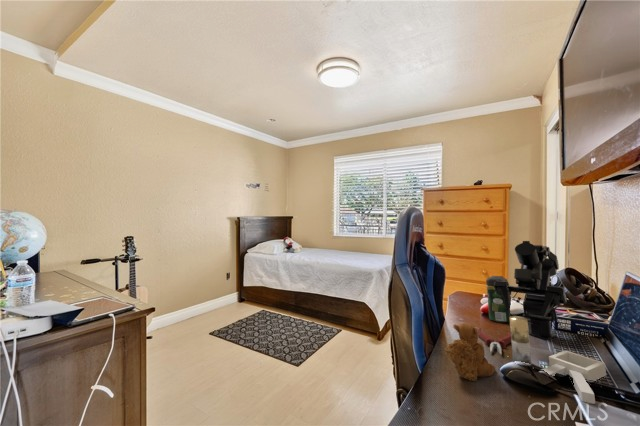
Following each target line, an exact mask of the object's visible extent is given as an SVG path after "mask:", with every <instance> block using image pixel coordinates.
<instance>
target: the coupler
mask: <svg viewBox="0 0 640 426" xmlns="http://www.w3.org/2000/svg"><path fill="white" fill-rule="evenodd" d="M509 326H510V328H509V330H510V332H511V352H512V363H514V361H521V362H525V363H529V364H531V365H532V357H531V356H532V354H531V344H530V334H529V322H528V317H525V316H520V315H519V316H518V315H511V316H510V321H509Z"/></svg>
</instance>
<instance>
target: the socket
mask: <svg viewBox="0 0 640 426" xmlns="http://www.w3.org/2000/svg"><path fill="white" fill-rule="evenodd" d="M548 364H549V365H548V366H547V367H545V368H542V369H541V370H544V371H545V372H547V373H548V374H549V375H552V376H555V374H556V373H559V374H564V373H567V374H570V376H571V377H572V378H573V383H574V385H573V388H574V389H575V390H576V392H577V394H578V396H579V398H580V399H581V402H582V403H587V404H592V405H596V398H595V393H594V391H593V389H592V388H591V387H590V385H589V384H588V383H587V382H586V380H585V379H587V380H596V379H598V378H601V377H603V376H605V375H606V376H607V370H606V363H605V362H604V361H600V360H597V359H594V358H591V357H587V356H585V355H583V354H582V355H581V354H579V353H575V352H572V351H569V350H567V349H566V350H562V351H560V352H558V353H555V354H552V355H549V356H548ZM573 383H572V384H573Z"/></svg>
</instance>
